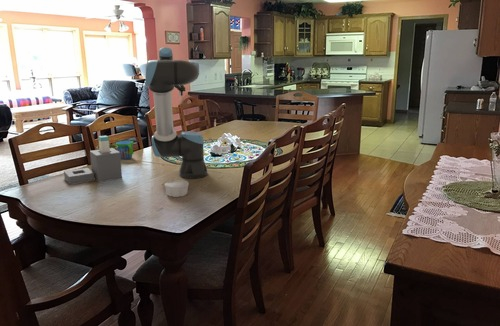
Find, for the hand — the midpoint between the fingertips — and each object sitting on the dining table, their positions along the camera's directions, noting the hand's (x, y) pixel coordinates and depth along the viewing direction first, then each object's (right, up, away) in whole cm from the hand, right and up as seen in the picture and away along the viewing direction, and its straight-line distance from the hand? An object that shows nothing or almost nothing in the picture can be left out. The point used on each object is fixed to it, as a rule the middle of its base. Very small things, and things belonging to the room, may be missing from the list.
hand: (169, 99), depth 255 cm
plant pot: (-32, -42, -17) cm, 55 cm away
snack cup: (-27, -37, -1) cm, 46 cm away
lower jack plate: (-38, -49, -44) cm, 76 cm away
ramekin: (+16, -55, -64) cm, 86 cm away
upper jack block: (-25, -48, -40) cm, 67 cm away
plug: (-25, -37, -43) cm, 62 cm away
